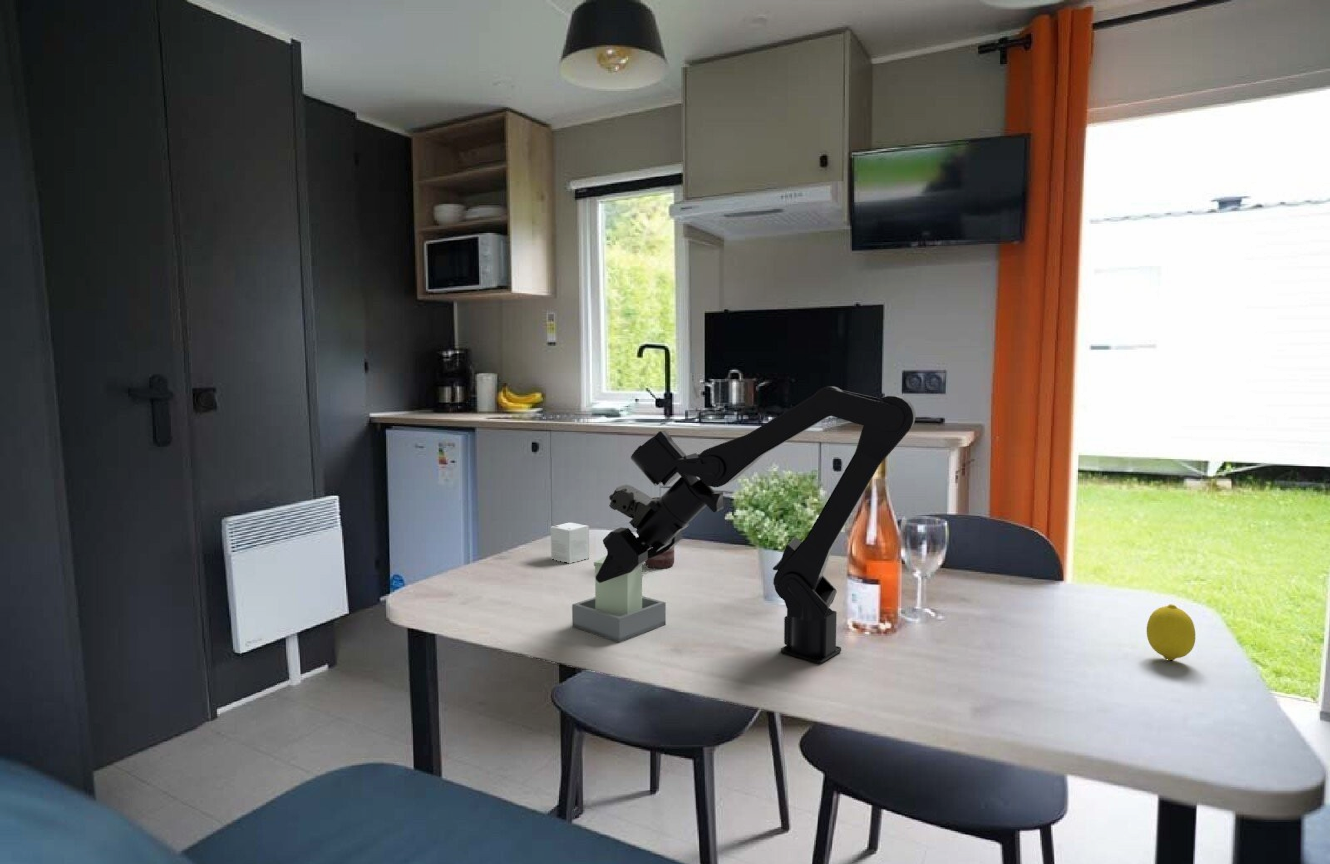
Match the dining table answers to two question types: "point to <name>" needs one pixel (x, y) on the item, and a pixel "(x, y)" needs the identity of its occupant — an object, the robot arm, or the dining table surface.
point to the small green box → (619, 592)
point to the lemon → (1171, 632)
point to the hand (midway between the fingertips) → (611, 572)
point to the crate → (619, 619)
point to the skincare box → (570, 542)
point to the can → (661, 558)
